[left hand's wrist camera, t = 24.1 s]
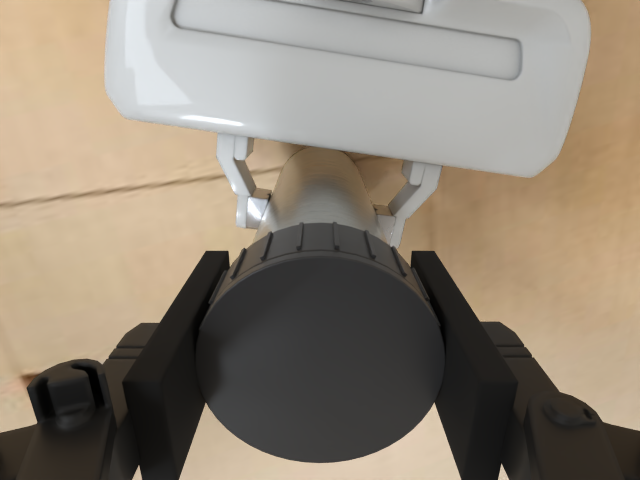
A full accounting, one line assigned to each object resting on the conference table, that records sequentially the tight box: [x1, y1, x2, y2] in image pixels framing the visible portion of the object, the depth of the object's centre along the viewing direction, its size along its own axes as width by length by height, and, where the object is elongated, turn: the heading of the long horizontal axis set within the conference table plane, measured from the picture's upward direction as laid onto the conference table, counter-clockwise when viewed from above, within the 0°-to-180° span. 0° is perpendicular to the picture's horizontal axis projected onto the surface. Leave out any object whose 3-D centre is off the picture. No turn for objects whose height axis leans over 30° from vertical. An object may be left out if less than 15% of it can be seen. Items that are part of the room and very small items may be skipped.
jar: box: [252, 147, 388, 244], centre depth 19 cm, size 5×5×17 cm
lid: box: [195, 222, 446, 463], centre depth 12 cm, size 6×6×2 cm
